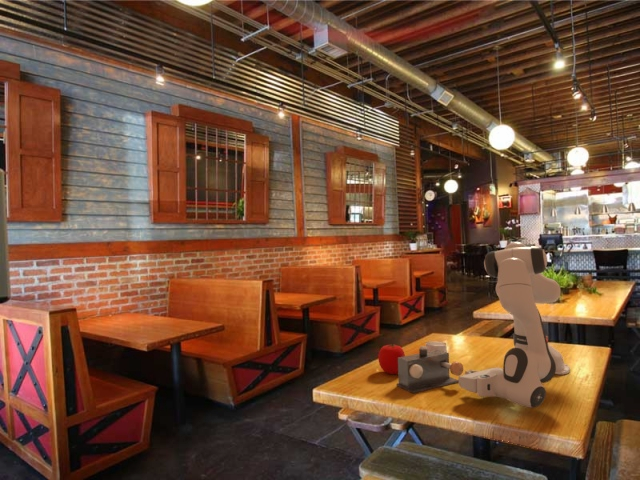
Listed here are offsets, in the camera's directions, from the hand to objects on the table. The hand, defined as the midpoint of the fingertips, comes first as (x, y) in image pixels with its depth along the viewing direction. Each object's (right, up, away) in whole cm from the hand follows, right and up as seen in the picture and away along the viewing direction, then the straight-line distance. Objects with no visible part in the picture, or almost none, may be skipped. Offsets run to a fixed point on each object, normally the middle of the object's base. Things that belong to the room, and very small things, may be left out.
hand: (467, 372), depth 164 cm
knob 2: (-4, -3, +8) cm, 10 cm away
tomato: (-24, -8, +25) cm, 36 cm away
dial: (-14, +4, +11) cm, 18 cm away
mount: (-13, -7, +9) cm, 17 cm away
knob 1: (-20, -3, +7) cm, 22 cm away
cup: (-5, -7, +25) cm, 26 cm away
